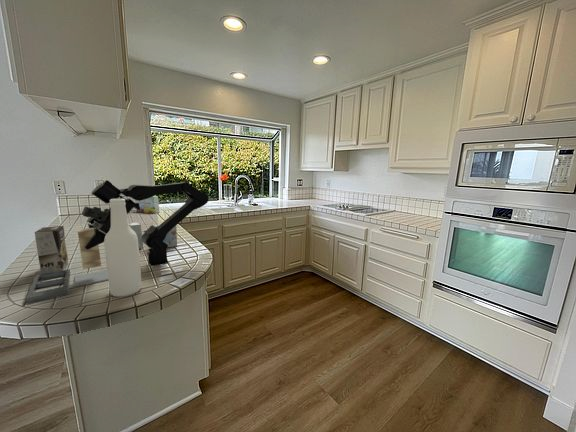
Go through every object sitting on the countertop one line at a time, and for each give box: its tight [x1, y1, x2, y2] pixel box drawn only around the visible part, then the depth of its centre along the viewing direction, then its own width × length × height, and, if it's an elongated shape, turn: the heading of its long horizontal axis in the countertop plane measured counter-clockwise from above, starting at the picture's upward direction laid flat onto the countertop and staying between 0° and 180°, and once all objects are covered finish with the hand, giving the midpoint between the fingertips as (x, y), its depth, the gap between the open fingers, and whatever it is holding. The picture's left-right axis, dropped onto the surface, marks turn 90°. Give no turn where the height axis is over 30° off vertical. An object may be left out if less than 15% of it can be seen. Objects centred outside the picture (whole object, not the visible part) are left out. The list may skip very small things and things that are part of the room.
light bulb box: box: [154, 224, 178, 248], centre depth 127 cm, size 11×7×11 cm, turn 129°
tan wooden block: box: [77, 227, 102, 270], centre depth 88 cm, size 5×5×13 cm
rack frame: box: [25, 268, 71, 304], centre depth 83 cm, size 9×20×2 cm, turn 39°
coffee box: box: [34, 225, 70, 274], centre depth 95 cm, size 9×6×16 cm
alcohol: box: [103, 198, 143, 298], centre depth 78 cm, size 9×9×30 cm
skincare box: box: [129, 222, 144, 250], centre depth 123 cm, size 6×4×12 cm
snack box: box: [135, 195, 160, 215], centre depth 220 cm, size 21×6×15 cm, turn 72°
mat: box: [74, 269, 108, 288], centre depth 90 cm, size 10×10×1 cm
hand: (84, 246), depth 87 cm, fingers closed on tan wooden block, 5 cm apart
